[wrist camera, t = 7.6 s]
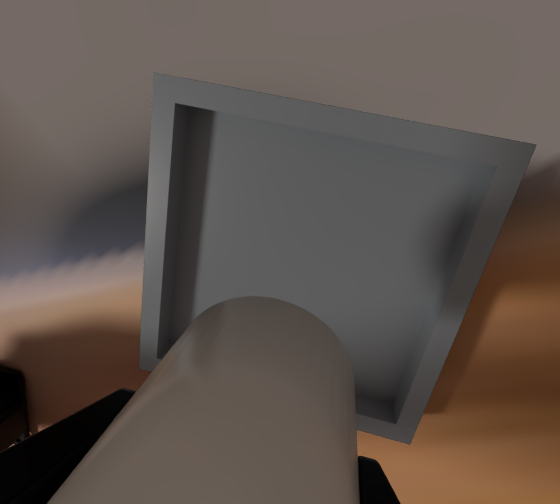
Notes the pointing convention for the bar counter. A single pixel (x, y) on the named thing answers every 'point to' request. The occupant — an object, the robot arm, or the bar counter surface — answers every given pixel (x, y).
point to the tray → (323, 229)
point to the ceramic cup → (233, 418)
